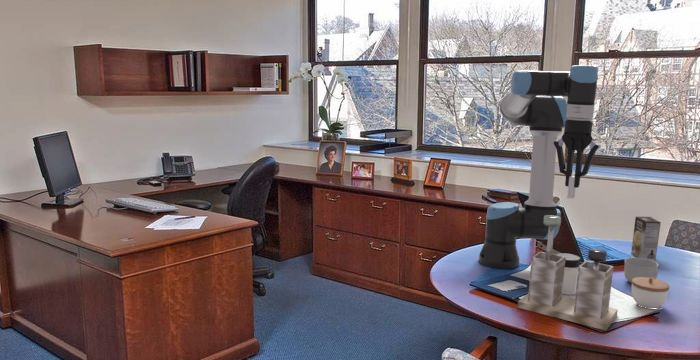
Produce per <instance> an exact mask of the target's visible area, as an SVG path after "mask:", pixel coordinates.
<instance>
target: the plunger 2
mask: <svg viewBox="0 0 700 360" xmlns="http://www.w3.org/2000/svg"><path fill="white" fill-rule="evenodd" d="M607 255H608V251H606V250H604V249H598V248H589V249H588V252H587V258H588V260H590V261H591V262H594V263H593V270H597V271H599V263H600V262H601V263H604V262H606V261H607Z"/></svg>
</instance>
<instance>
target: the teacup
mask: <svg viewBox="0 0 700 360" xmlns="http://www.w3.org/2000/svg"><path fill="white" fill-rule="evenodd" d="M659 266H660V265H659V263H658V262H657V260H655V261H654V260H650V259H646V258H637V257H636V256H634V255H633V256H632V255H631V256H629V257H627V258H626V259H624V270H623V271H624V278H625V279H626V280H627V281H628V282H630V283H631V284H632V279H633V278H636V277H648V278H649V277H652V278H654V279H658V272H659Z"/></svg>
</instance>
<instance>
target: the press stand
mask: <svg viewBox="0 0 700 360" xmlns="http://www.w3.org/2000/svg"><path fill="white" fill-rule="evenodd" d="M565 258H566V257H565V256H560V255H556V254H554V253H552V257H551V261H549V260H546V252H543V251H539V252H538V253H536V254H534V255H533V256H531V260H530V261H531V262H530V270H529V282H528V283H529V284H528V293H527V294H526V295H525V296H523V297H522V298H521V299H519V300H518V301H517V308H518V309H522V310H526V311H529V312H533V313H536V314H540V315H545V316H549V317H552V318H557V319H560V320H564V321H567V322H568V321H569V322H572V323H575V324H579V325H582V326H583V325H584V326H587V327H590V328H595V329H598V330H603V331H608V329H609V327H610V326H611V325H612V323H613V322H614V320H615V319H616V317H617V316H618V311H619V309H618V308H616V307H615V308H614V307H610V301H611V300H610V299H611V293H612V283H613V274H614V265H609V264H604V263H600V262H599V271H597V270H593V263H594V261H591V260H590V261H589V260H585V261H583V263H580V266H579V267H578V276H577V286H576V294H575V295H574V296H575V297H574V298H573V297H568V296H564V295H563V294H562V289H563V279H564V269H565ZM612 321H613V322H612Z"/></svg>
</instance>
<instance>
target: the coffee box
mask: <svg viewBox="0 0 700 360" xmlns="http://www.w3.org/2000/svg"><path fill="white" fill-rule="evenodd" d="M634 220H635V221H634V228H633V237H632V244H631V254H632V255H633V257H635V258H646V259H650V260H653V261H657V252H658V244H659V238H660V230H661V225H662V224H661V223H662V222H661V221H659V220H657V219H655V218H653V217H652V216H635V219H634Z"/></svg>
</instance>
